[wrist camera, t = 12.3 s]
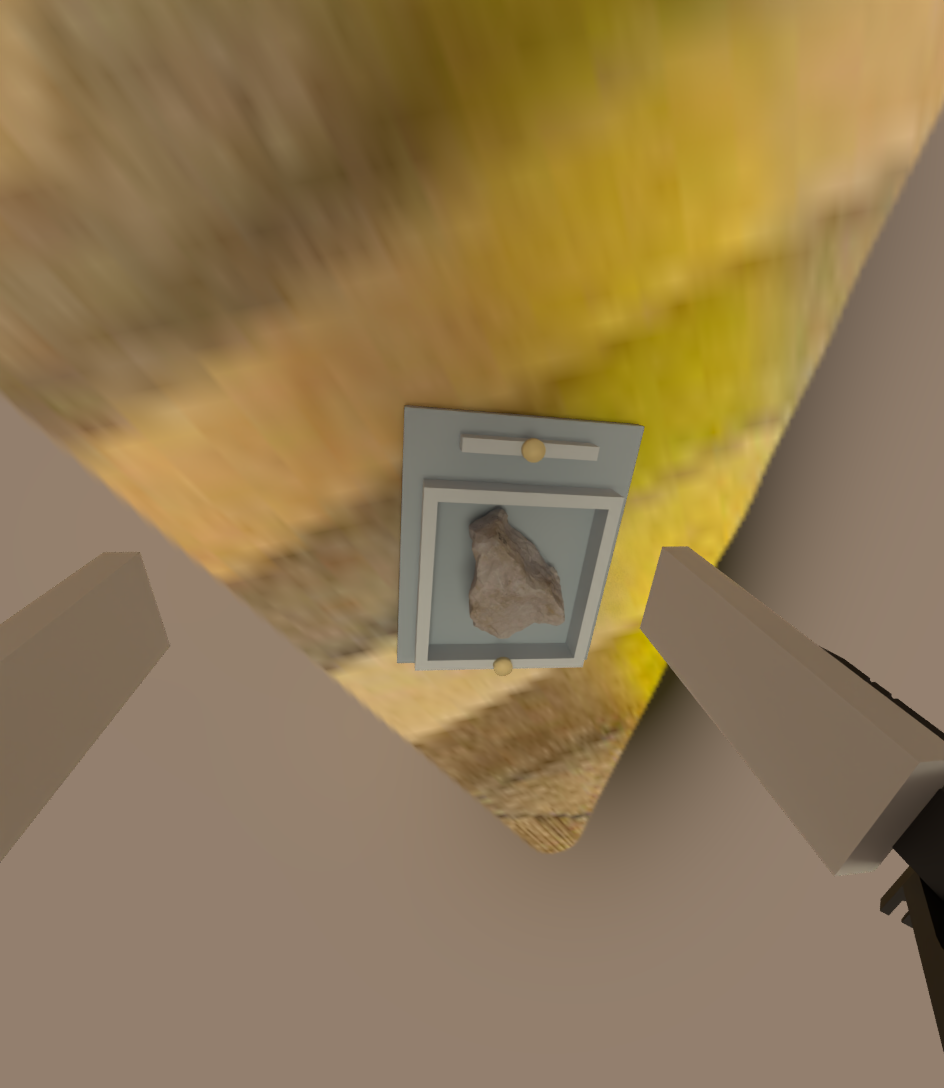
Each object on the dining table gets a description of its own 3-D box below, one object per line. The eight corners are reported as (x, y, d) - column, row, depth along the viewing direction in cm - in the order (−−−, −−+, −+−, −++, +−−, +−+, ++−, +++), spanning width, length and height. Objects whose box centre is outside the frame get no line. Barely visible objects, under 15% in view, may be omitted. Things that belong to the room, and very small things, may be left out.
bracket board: (404, 405, 30) (404, 412, 27) (636, 424, 33) (664, 432, 30) (397, 654, 39) (396, 685, 35) (581, 651, 42) (598, 679, 38)
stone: (480, 628, 38) (491, 673, 32) (425, 540, 34) (427, 574, 28) (562, 587, 37) (588, 625, 32) (516, 491, 33) (536, 517, 28)
